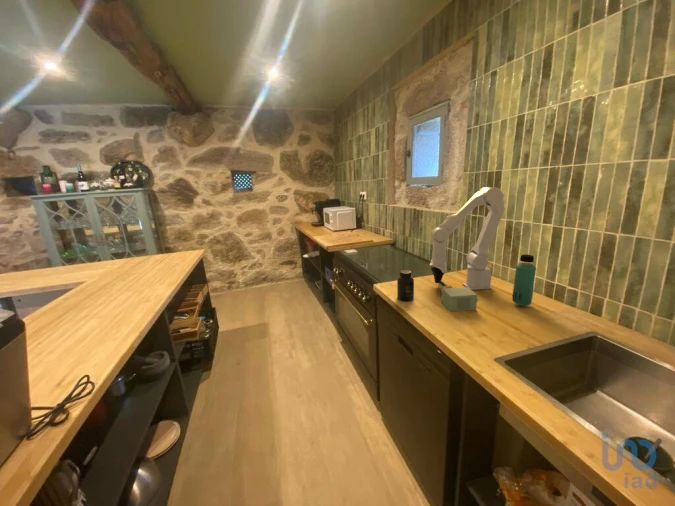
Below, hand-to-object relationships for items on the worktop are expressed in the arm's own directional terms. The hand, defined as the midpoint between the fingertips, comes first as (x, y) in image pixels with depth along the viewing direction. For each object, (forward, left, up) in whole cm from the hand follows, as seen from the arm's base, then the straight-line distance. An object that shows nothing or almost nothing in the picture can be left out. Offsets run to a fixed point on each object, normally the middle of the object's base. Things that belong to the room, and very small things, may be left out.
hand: (437, 282), depth 128 cm
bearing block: (0, +21, -2) cm, 21 cm away
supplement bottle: (+18, +11, -2) cm, 21 cm away
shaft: (0, +12, -2) cm, 12 cm away
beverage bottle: (-23, +24, -2) cm, 33 cm away
